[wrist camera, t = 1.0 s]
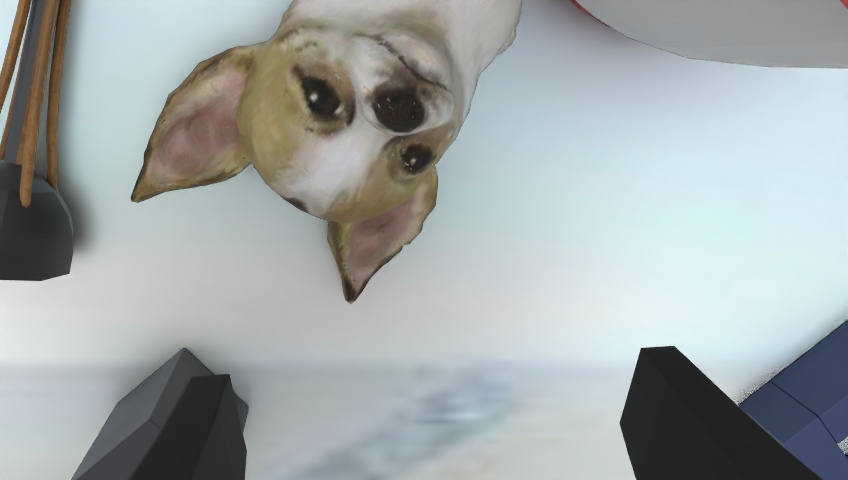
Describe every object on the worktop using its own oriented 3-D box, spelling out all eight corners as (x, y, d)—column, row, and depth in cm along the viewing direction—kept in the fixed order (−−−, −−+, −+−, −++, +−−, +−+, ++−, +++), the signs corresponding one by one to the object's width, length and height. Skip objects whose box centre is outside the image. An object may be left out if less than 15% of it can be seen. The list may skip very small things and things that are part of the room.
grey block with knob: (183, 461, 30) (141, 577, 23) (116, 403, 29) (52, 508, 22) (249, 406, 30) (227, 508, 23) (184, 346, 28) (141, 434, 22)
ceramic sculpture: (668, 13, 20) (395, 391, 23) (544, -8, 27) (351, 277, 30) (382, -260, 15) (83, 262, 18) (327, -194, 23) (123, 166, 26)
